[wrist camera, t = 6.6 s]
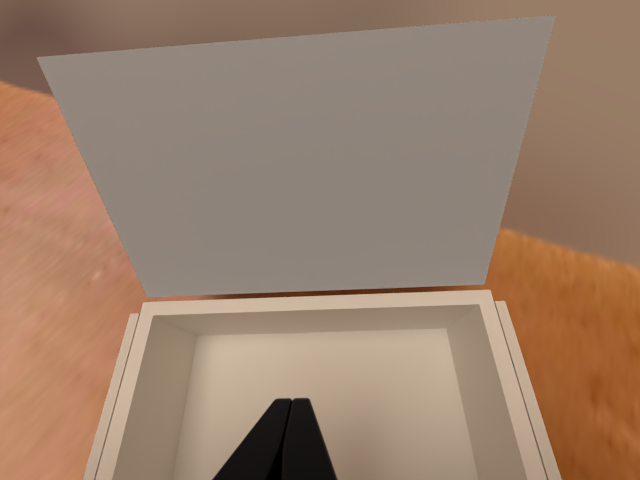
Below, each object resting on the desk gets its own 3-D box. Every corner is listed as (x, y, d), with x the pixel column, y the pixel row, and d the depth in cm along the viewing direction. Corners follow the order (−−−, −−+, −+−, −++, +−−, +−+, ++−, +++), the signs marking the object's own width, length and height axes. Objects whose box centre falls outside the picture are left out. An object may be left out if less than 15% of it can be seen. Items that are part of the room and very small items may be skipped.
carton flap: (555, 15, 8) (543, 17, 8) (36, 57, 9) (50, 57, 9) (484, 284, 12) (479, 277, 13) (146, 297, 13) (152, 289, 14)
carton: (531, 619, 11) (648, 753, 7) (129, 612, 12) (11, 728, 8) (460, 318, 17) (501, 289, 13) (185, 327, 18) (133, 302, 13)
